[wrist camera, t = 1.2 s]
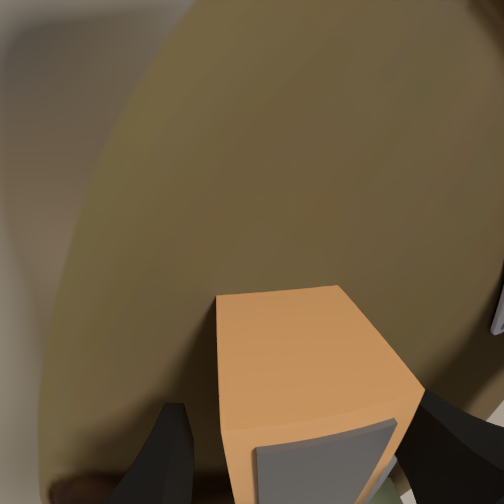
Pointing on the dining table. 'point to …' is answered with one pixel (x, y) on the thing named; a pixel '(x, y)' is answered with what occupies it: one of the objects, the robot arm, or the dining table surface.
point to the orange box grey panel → (307, 397)
